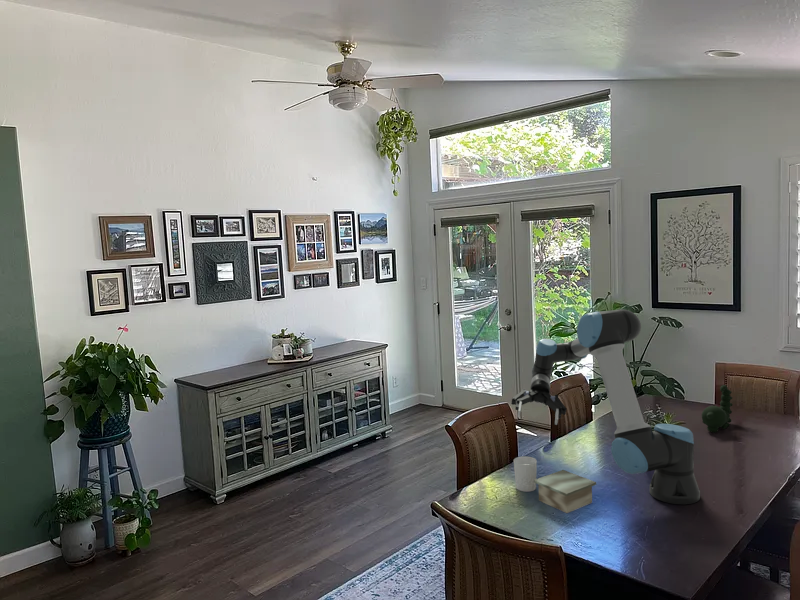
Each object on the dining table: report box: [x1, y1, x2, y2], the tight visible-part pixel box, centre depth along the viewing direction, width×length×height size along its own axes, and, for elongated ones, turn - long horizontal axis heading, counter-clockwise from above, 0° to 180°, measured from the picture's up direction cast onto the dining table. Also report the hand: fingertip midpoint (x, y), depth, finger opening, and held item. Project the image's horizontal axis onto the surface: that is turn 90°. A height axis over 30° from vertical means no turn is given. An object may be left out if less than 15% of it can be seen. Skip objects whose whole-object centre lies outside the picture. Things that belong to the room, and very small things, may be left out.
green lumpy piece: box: [701, 384, 733, 433], centre depth 256 cm, size 9×19×25 cm
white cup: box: [513, 455, 538, 493], centre depth 206 cm, size 8×8×10 cm
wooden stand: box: [534, 469, 597, 514], centre depth 193 cm, size 14×14×7 cm
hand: (537, 418), depth 215 cm, fingers open, 13 cm apart
